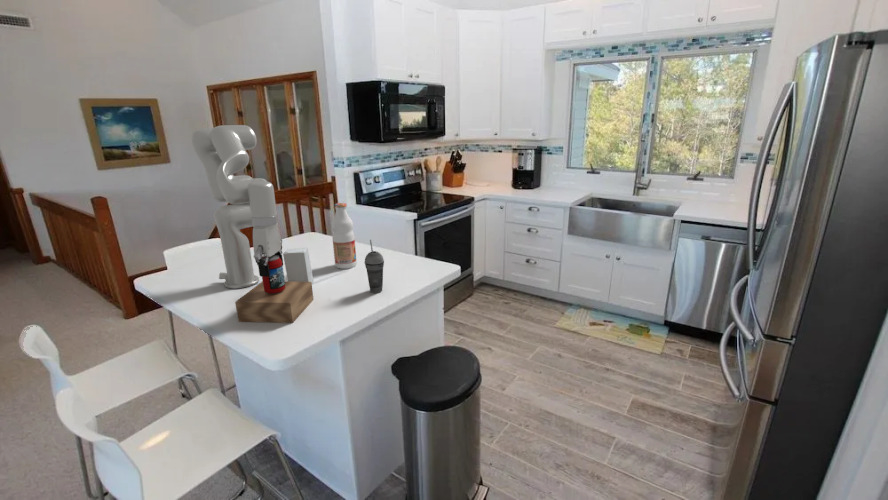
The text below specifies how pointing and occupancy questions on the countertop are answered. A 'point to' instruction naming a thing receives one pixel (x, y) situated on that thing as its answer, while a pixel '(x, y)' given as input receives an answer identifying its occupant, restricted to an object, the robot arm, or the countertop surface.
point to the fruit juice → (343, 238)
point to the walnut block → (275, 303)
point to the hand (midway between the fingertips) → (272, 270)
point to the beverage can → (274, 276)
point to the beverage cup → (374, 270)
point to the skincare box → (298, 265)
